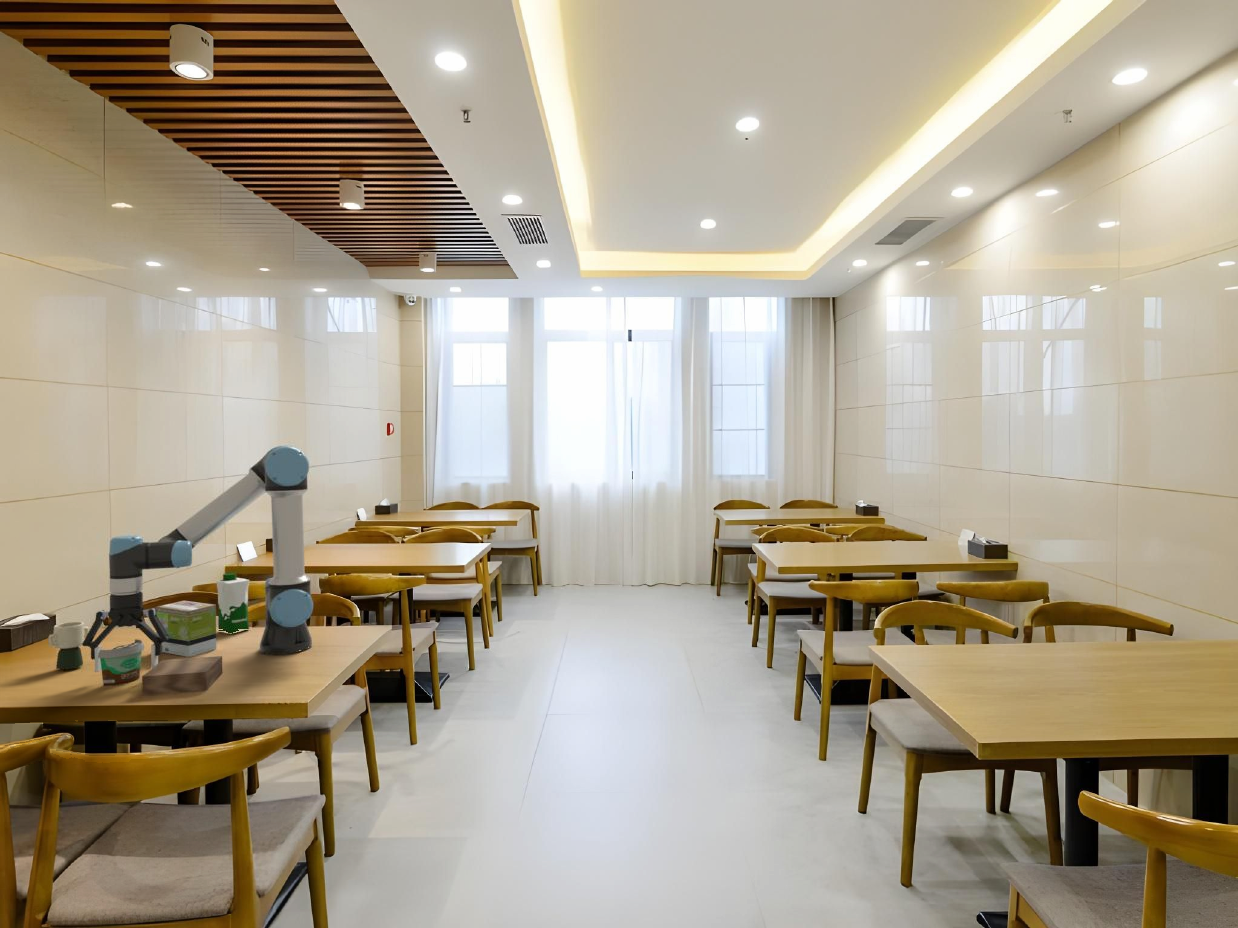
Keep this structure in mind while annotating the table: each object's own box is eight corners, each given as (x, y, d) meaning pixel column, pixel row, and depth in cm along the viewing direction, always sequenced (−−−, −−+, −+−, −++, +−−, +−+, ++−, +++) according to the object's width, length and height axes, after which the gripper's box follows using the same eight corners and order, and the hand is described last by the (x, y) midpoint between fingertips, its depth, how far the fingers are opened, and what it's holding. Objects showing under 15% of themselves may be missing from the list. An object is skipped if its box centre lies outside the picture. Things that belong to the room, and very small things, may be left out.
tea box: (155, 652, 228) (154, 605, 227) (184, 644, 237) (184, 599, 237) (188, 657, 222) (188, 609, 222) (217, 649, 231) (217, 603, 231)
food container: (117, 688, 193) (117, 651, 193) (98, 687, 195) (97, 650, 194) (155, 674, 205) (155, 639, 205) (137, 673, 207) (136, 638, 206)
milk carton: (238, 627, 260) (237, 571, 260) (253, 630, 255) (252, 573, 255) (214, 632, 253) (213, 575, 252) (228, 635, 248) (227, 577, 247)
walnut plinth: (222, 673, 206) (222, 655, 206) (206, 690, 192) (206, 671, 192) (163, 677, 203) (162, 659, 203) (142, 695, 188) (142, 676, 188)
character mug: (80, 662, 218) (79, 619, 217) (97, 664, 215) (96, 620, 215) (41, 672, 207) (40, 627, 207) (58, 675, 205) (57, 629, 205)
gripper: (181, 587, 206) (182, 661, 207) (80, 591, 200) (81, 668, 200) (172, 592, 199) (173, 669, 199) (67, 597, 193) (68, 676, 193)
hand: (127, 669), depth 200 cm, fingers open, 13 cm apart
